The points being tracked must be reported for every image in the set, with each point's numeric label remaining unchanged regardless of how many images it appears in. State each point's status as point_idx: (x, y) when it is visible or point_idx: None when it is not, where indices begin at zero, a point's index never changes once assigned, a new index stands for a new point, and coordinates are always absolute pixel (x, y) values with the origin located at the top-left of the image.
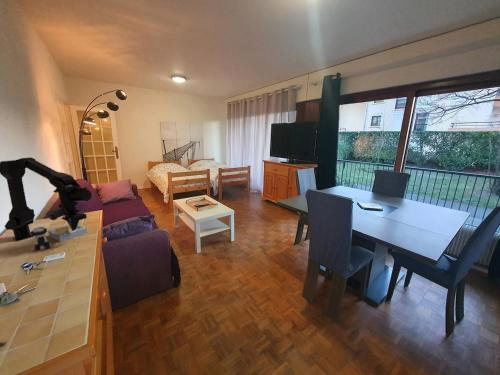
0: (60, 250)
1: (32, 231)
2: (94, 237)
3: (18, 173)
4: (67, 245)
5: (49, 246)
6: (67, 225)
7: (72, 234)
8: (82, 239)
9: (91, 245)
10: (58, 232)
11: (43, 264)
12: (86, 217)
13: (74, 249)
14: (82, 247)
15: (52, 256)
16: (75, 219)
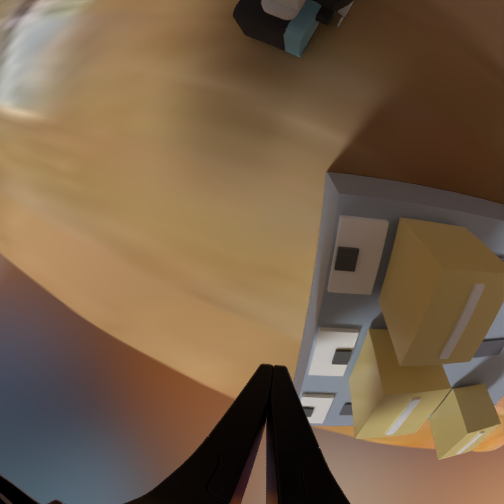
0: (85, 95)
1: None
2: (143, 349)
3: None
4: (144, 170)
5: (251, 34)
6: (433, 405)
7: (313, 319)
8: (178, 303)
9: (28, 264)
10: (414, 244)
11: (6, 10)
12: (11, 489)
13: (31, 176)
14: (29, 222)
15: (42, 41)
16: None
